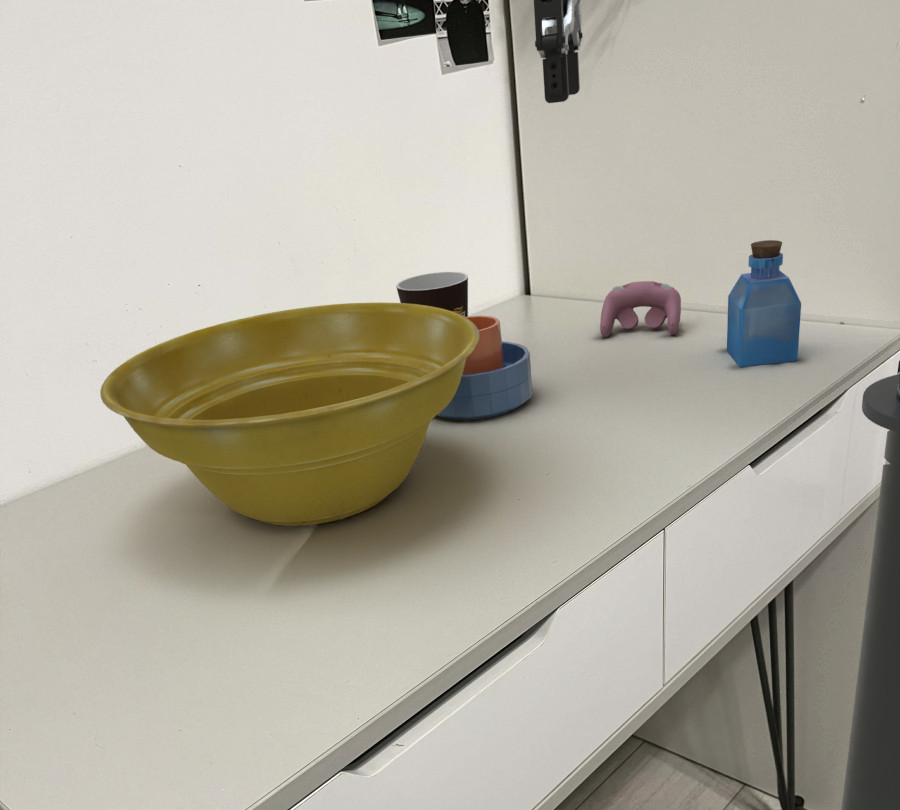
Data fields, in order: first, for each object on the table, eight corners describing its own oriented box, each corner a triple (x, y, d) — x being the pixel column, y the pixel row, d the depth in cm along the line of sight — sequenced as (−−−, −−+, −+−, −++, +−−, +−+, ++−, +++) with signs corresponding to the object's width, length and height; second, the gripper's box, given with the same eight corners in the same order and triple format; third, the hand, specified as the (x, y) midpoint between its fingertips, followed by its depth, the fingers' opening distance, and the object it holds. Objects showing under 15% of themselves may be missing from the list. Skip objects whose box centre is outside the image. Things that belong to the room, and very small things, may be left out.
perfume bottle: (781, 344, 109) (788, 234, 103) (797, 360, 103) (805, 245, 97) (726, 350, 109) (729, 241, 103) (739, 367, 104) (743, 253, 98)
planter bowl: (568, 472, 85) (559, 322, 78) (263, 626, 69) (217, 453, 62) (358, 408, 107) (336, 287, 101) (88, 512, 91) (41, 376, 84)
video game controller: (681, 340, 120) (684, 282, 119) (678, 333, 115) (681, 274, 115) (603, 342, 123) (605, 286, 122) (597, 336, 118) (599, 278, 118)
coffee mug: (466, 348, 123) (457, 268, 118) (485, 365, 115) (476, 281, 110) (378, 365, 121) (365, 285, 116) (392, 384, 114) (379, 299, 108)
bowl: (540, 382, 108) (537, 338, 105) (522, 421, 98) (518, 373, 95) (438, 386, 111) (432, 343, 108) (411, 424, 101) (404, 378, 98)
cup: (510, 386, 106) (504, 314, 102) (500, 406, 100) (492, 331, 96) (455, 388, 107) (446, 317, 103) (441, 408, 102) (432, 334, 98)
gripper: (585, -119, 79) (593, 100, 87) (602, -104, 91) (608, 88, 99) (496, -103, 81) (513, 110, 89) (524, -91, 93) (537, 96, 101)
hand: (563, 98), depth 94 cm, fingers open, 8 cm apart
